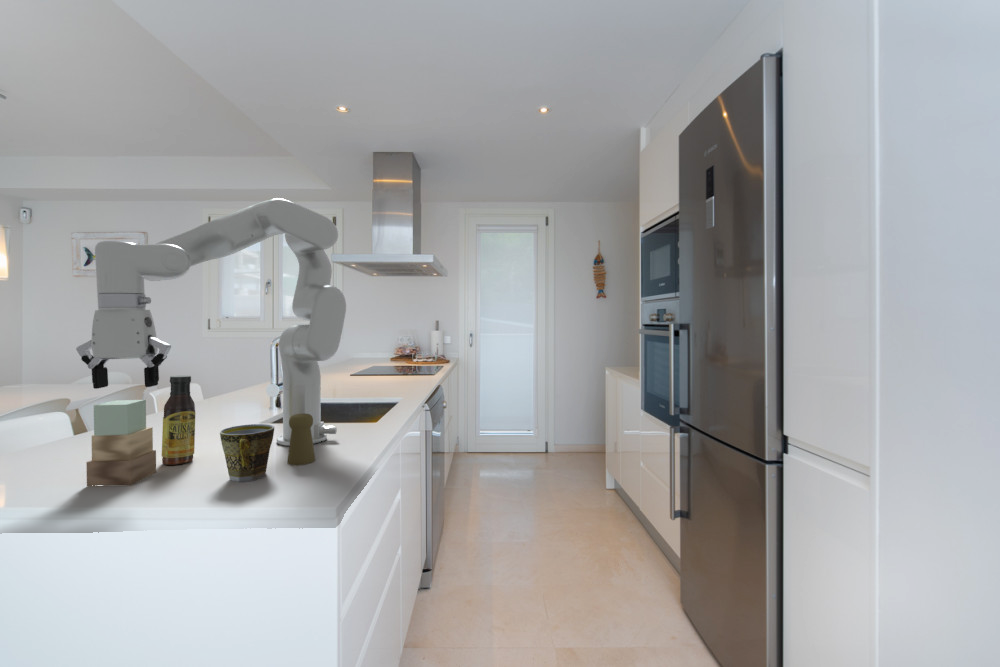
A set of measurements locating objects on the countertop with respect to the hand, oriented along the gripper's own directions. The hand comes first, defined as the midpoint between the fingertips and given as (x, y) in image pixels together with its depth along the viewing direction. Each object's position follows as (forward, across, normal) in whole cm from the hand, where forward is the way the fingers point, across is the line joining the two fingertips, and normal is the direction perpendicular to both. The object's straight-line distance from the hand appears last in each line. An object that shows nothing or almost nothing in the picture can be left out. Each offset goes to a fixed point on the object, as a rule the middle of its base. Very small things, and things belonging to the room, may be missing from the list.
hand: (126, 386), depth 96 cm
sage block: (+9, +1, +1) cm, 9 cm away
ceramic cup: (+20, -24, +3) cm, 31 cm away
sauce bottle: (+19, -3, -11) cm, 22 cm away
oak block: (+14, +1, +1) cm, 14 cm away
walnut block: (+19, +1, +1) cm, 19 cm away
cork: (+20, -31, -9) cm, 38 cm away
